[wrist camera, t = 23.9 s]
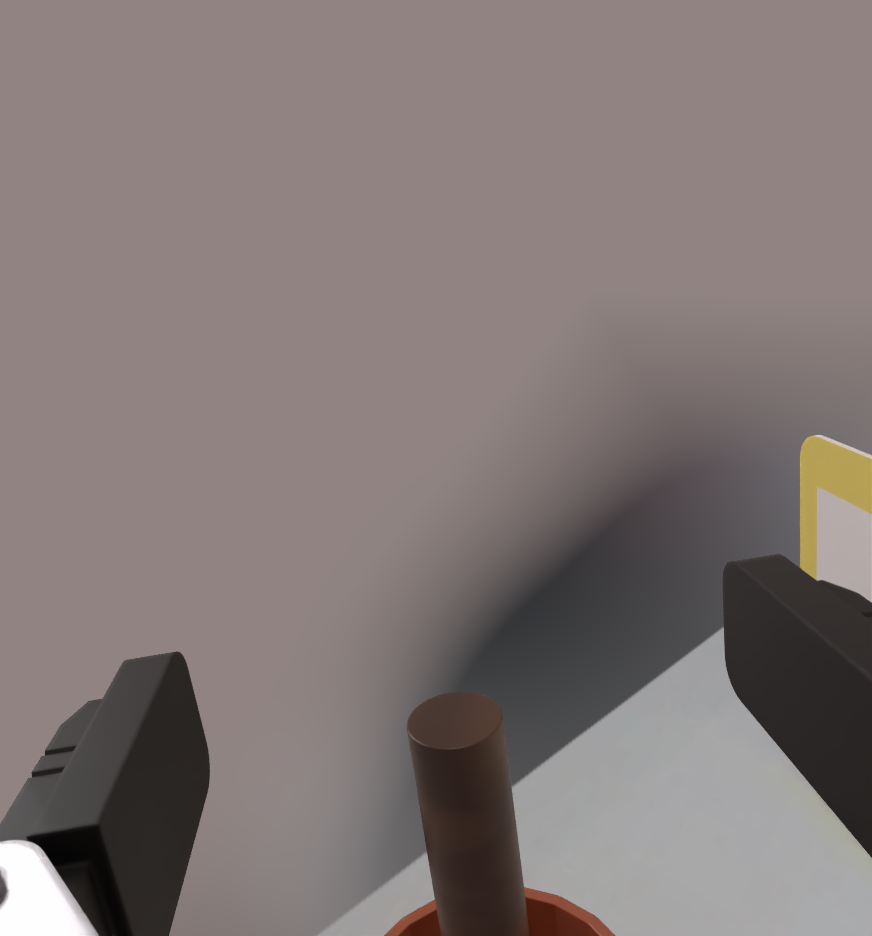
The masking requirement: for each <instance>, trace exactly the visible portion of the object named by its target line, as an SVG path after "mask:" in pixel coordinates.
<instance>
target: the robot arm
mask: <svg viewBox="0 0 872 936" xmlns="http://www.w3.org/2000/svg"><path fill="white" fill-rule="evenodd" d="M723 607H724V642H725V661H726V667H727V672H728V675H729V679H730V682H731V684H732V687H733V689H734V691H735V693H736V695H737V696H738V698H739V699H740V700H741V702H742V703H743V704H744V705H745V707H746V708H747V709H748V710H749V711H750V712H751V714H752V715H753V716H754V717H755V718H756V720H757V721H758V722H759V723H760V724H761V726H762V727H763V728H764V729H765V730H766V732H767V733H768V734H769V735H770V736H771V738H772V739H773V740H774V741H775V742H776V744H777V745H778V746H779V747H780V748H781V750H782V751H783V752H784V753H785V754H786V756H787V757H788V758H789V759H790V760H791V762H792V763H793V764H794V765H795V766H796V768H797V769H798V770H799V771H800V772H801V774H802V775H803V776H804V777H805V778H806V780H807V781H808V782H809V783H810V784H811V786H812V787H813V788H814V789H815V790H816V791H817V793H818V794H819V795H820V796H821V797H822V799H823V800H824V801H825V802H826V803H827V805H828V806H829V807H830V808H831V809H832V811H833V812H834V813H835V814H836V815H837V817H838V818H839V819H840V820H841V821H842V823H843V824H844V825H845V826H846V827H847V829H848V830H849V831H850V832H851V833H852V835H853V836H854V837H855V838H856V839H857V841H858V842H859V843H860V844H861V845H862V847H863V848H864V849H865V850H866V851H867V853H868V854H869V855H870V856H871V857H872V602H870V601H869V600H867V599H866V598H865V597H863V596H862V595H860V594H859V593H857V592H854V591H852V590H849V589H846V588H843V587H841V586H838V585H835V584H832V583H830V582H827V581H824V580H819V581H817V580H815V579H814V578H813V577H811V576H810V575H809V574H807V573H806V572H805V571H803V570H802V569H800V568H799V567H798V566H796V565H795V564H794V563H792V562H791V561H789V560H788V559H787V558H786V557H784V556H782V555H780V554H775V555H769V556H763V557H756V558H750V559H744V560H738V561H732V562H729V563H727V564H726V566H725V568H724V572H723ZM209 765H210V764H209V753H208V747H207V742H206V738H205V734H204V730H203V726H202V722H201V718H200V714H199V711H198V706H197V702H196V698H195V695H194V691H193V686H192V683H191V679H190V675H189V670H188V667H187V664H186V661H185V659H184V657H183V655H182V654H181V653H180V652H172V653H166V654H159V655H153V656H147V657H141V658H135V659H129V660H125V661H124V662H123V663H122V665H121V667H120V668H119V670H118V672H117V674H116V676H115V678H114V679H113V681H112V683H111V685H110V686H109V688H108V690H107V692H106V694H105V695H104V697H103V699H99V700H93V701H88V702H87V703H86V704H85V705H84V706H83V707H81V708H80V709H79V710H78V711H77V712H76V713H75V714H73V715H72V716H71V717H70V718H69V719H67V720H66V721H65V722H64V723H63V724H62V725H61V726H60V727H59V729H58V730H57V732H56V734H55V735H54V737H53V739H52V740H51V742H50V744H49V745H48V747H47V748H46V750H45V756H42V757H41V758H40V760H39V762H38V763H37V765H36V767H35V768H34V770H33V771H32V778H28V779H27V781H26V783H25V784H24V786H23V788H22V789H21V791H20V793H19V794H18V796H17V798H16V799H15V801H14V802H13V804H12V806H11V807H10V809H9V811H8V812H7V814H6V816H5V817H4V819H3V820H2V822H1V824H0V936H169V933H170V929H171V925H172V921H173V918H174V914H175V910H176V907H177V903H178V900H179V896H180V892H181V888H182V885H183V881H184V877H185V874H186V870H187V866H188V862H189V859H190V855H191V851H192V848H193V844H194V840H195V837H196V833H197V829H198V826H199V822H200V818H201V814H202V811H203V807H204V803H205V799H206V795H207V792H208V787H209V778H210V777H209V776H210V766H209Z"/></svg>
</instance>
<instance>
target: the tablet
mask: <svg viewBox="0 0 872 936" xmlns="http://www.w3.org/2000/svg"><path fill="white" fill-rule="evenodd" d="M800 569H802V570H803V571H805V572H806V573H807V574H809V575H810V576H811V577H813V578H814V579H815V580H817V581H819V580H824V581H827V582H830V583H832V584H835V585H838V586H841V587H843V588H846V589H849V590H852V591H854V592H857V593H859V594H860V595H862V596H863V597H865V598H866V599H867V600H869V601H870V602H872V455H869V454H867V453H864V452H862V451H859V450H857V449H854V448H852V447H850V446H847V445H844V444H842V443H840V442H837V441H835V440H832V439H830V438H827V437H825V436H822V435H815V436H810V437H808V438H807V439H806V440H805V441H804V443H803V445H802V448H801V454H800Z"/></svg>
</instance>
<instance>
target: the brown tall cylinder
mask: <svg viewBox="0 0 872 936" xmlns="http://www.w3.org/2000/svg"><path fill="white" fill-rule="evenodd" d="M407 733H408V739H409V745H410V751H411V757H412V763H413V769H414V775H415V781H416V787H417V793H418V799H419V805H420V811H421V817H422V823H423V830H424V836H425V842H426V848H427V854H428V860H429V866H430V872H431V878H432V884H433V890H434V896H435V902H436V908H437V915H438V921H439V927H440V933H441V936H530V933H529V925H528V917H527V908H526V900H525V892H524V884H523V876H522V868H521V860H520V852H519V844H518V836H517V828H516V820H515V812H514V804H513V795H512V787H511V779H510V771H509V763H508V755H507V747H506V740H505V731H504V723H503V715H502V711H501V709H500V707H499V706H498V704H497V703H496V702H495V701H493V700H492V699H491V698H489V697H487V696H484V695H481V694H478V693H473V692H452V693H446V694H442V695H439V696H436V697H433V698H431V699H428V700H427V701H425V702H423V703H422V704H420V705H419V706H418V707H416V708H415V710H414V711H413V712H412V713H411V715H410V716H409V719H408V722H407Z"/></svg>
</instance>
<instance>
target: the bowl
mask: <svg viewBox="0 0 872 936" xmlns="http://www.w3.org/2000/svg"><path fill="white" fill-rule="evenodd" d="M524 892H525V900H526V908H527V917H528V925H529V933H530V936H615V935H614V934H613V933H612V932H611V931H610V930H609V929H608V928H607V927H606V926H605V925H604V924H603V923H602V922H601V921H600V920H599V919H598V918H597V917H596V916H595V915H593V914H591V913H589V912H587V911H586V910H584V909H582V908H580V907H578V906H577V905H575V904H573V903H571V902H569V901H568V900H566V899H564V898H562V897H559V896H558V895H554V894H550V893H546V892H541V891H537V890H533V889H529V888H525V887H524ZM384 936H441V933H440V927H439V921H438V915H437V908H436V902H435V900H433V901H431V902H430V903H428V904H426V905H424V906H423V907H421V908H419V909H417V910H416V911H414V912H412V913H410V914H409V915H407V916H405V917H403V918H402V919H401V920H400V921H399V922H398V923H397V924H396V925H395V926H394V927H393V928H392V929H391V930H389V931H388V932H387V933H386V934H385V935H384Z"/></svg>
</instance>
